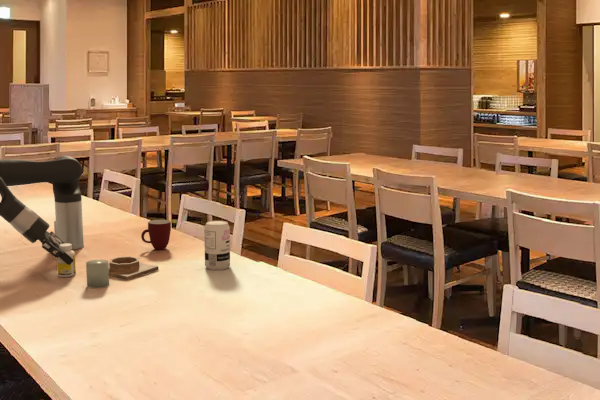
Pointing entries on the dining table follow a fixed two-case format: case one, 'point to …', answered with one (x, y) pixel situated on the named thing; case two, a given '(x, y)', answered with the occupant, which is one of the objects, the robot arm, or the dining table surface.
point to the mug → (158, 233)
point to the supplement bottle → (63, 267)
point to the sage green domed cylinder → (97, 273)
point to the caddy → (129, 268)
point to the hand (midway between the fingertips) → (72, 260)
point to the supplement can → (217, 245)
